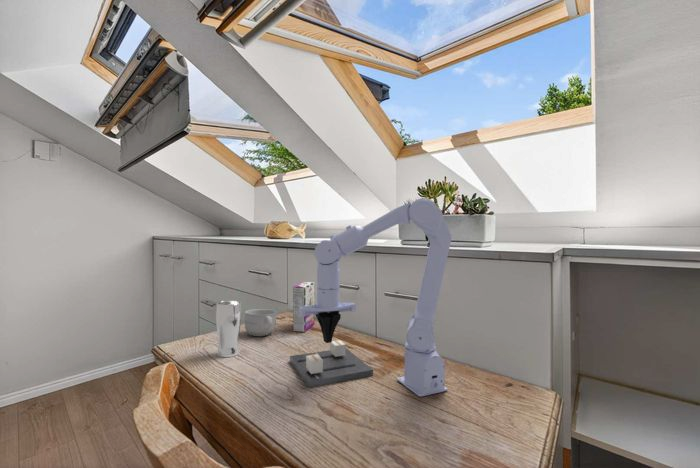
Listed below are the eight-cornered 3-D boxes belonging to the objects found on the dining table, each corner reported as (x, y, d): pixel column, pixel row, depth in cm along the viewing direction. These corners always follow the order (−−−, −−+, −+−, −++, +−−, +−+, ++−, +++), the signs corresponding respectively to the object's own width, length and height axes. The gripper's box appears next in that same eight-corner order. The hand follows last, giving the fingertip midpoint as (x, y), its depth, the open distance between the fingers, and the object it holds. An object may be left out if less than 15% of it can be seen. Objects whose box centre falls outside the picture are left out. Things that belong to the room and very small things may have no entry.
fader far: (345, 355, 93) (345, 344, 93) (335, 356, 92) (335, 345, 92) (339, 350, 97) (339, 339, 97) (330, 351, 96) (330, 340, 96)
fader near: (322, 372, 82) (322, 359, 82) (311, 374, 81) (311, 361, 81) (317, 365, 86) (317, 353, 85) (306, 367, 84) (306, 355, 84)
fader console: (373, 375, 85) (373, 369, 85) (308, 387, 78) (308, 381, 78) (345, 352, 100) (345, 347, 100) (289, 361, 93) (289, 355, 93)
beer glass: (244, 350, 101) (245, 300, 101) (234, 358, 95) (235, 305, 94) (222, 349, 102) (223, 299, 102) (210, 357, 95) (211, 304, 95)
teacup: (242, 331, 120) (242, 309, 120) (273, 328, 125) (273, 306, 125) (248, 343, 107) (248, 318, 107) (281, 339, 112) (282, 315, 112)
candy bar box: (302, 323, 131) (303, 281, 131) (314, 324, 130) (315, 282, 130) (291, 331, 120) (292, 286, 120) (305, 332, 119) (305, 286, 119)
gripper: (347, 284, 92) (347, 333, 92) (295, 287, 85) (295, 340, 86) (359, 288, 85) (358, 341, 85) (304, 291, 79) (303, 349, 79)
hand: (327, 341), depth 85 cm, fingers closed
